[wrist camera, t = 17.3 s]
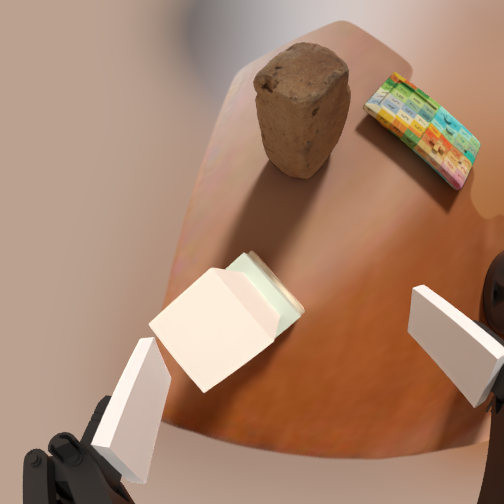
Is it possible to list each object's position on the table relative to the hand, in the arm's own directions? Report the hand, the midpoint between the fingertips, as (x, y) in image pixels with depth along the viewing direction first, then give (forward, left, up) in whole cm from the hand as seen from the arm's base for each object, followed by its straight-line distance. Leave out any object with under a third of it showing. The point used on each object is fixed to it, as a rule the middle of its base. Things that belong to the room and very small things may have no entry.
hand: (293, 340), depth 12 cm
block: (+14, -16, -26) cm, 34 cm away
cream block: (+3, +4, -16) cm, 17 cm away
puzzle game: (+4, -35, -26) cm, 44 cm away
